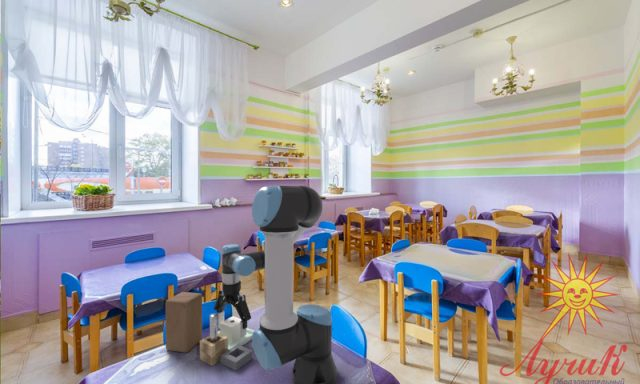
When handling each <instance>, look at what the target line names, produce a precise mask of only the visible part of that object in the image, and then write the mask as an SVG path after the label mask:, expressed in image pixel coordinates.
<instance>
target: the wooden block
mask: <svg viewBox="0 0 640 384" xmlns="http://www.w3.org/2000/svg"><path fill="white" fill-rule="evenodd" d="M202 339H203V294H202V293H199V292H198V293H197V292H188V291H181V292H179V293H178V294H175V295H174V296H171V297H170V298H169V299H167V300H166V301H165V349H166V350H167V351H172V352H180V353H188V352H190V351H191V350H192V349H193V348H194V347H195V346H196V345H198V344H200V340H202Z"/></svg>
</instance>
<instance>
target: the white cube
mask: <svg viewBox="0 0 640 384" xmlns="http://www.w3.org/2000/svg"><path fill="white" fill-rule="evenodd" d="M240 321H242V320H241V318H240V317H237V316H234V315H233V316H231V317H228V318H226V319H224V321H223V322H221V323H220V328H219V331H220V334H221V335H224V336H226V337H228V343H230V344H233V343H235V342H236V341H238V340H239V339H241V337H240ZM243 337H244V336H243ZM243 337H242V338H243Z"/></svg>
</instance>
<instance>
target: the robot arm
mask: <svg viewBox="0 0 640 384" xmlns="http://www.w3.org/2000/svg"><path fill="white" fill-rule="evenodd" d="M323 205H324V204H323V201H322V198H321V196H320V194H319V193H318V192H317V191H316V190H315V189H314V188H312V187H309V186H306V185H268V186H263V187H261V188H260V189H259V190H258V191H257V192H256V194H255V196H254V198H253V201H252V205H251V206H252V207H251V215H252V220H253V223H254V225H256V226H257V227H259V232H260V233H261V234H262V235H263V236H264V250H258V251H253V252H252V251H251V252H246V253H242V249H241V248H242V247H241V245H240V244H234V243H231V244H226V245H223V247H222V250H221V262H222V263H221V272H222V273H221V281H222V284H221V285H222V287H221V288H222V289H220V290H218V296H217V298H216V301H215V303H214V306H213V310H214V311H216V314H218V329H220V323H221V322H223V321H225V308H226V306H227V304H228V305H232V306H233V308H235V310H236V312H237V314H238V316H239V318H240V319H241V320H242V321H240V337H241V338H242V337H243V336H245V335H246V328H248V321H250V320H251V319H252V315H251V313H250V309H249V307H248V303H247V299H246V294H243V295H241V294H240V291H241V289H242V282H241V279H242V277H248V276H250V275H252V274H253V273H254V272H257V271H261V270H264V314H262V316H260V317H259V328H256V329H255V330H254V332H253V334H252V340H251V342H252V348H253V352H254V354H255V356H256V359H257V361H258V363H259V364H260V366H261V367H262V368H263V369H264V370H265V371H273V370H275V369H277V368H282V366H284V365H286V364H288V363H290V362H292V361H294V363H293V365H292V370H291V372H292V373H291V377H292V382H293V384H335V383H336V381H337V377H338V374H337V373H338V371H337V366H336V362H335V359H334V357H333V353H332V348H333V347H332V346H333V345H332V343H333V342H332V341H333V340H332V331H333V328H332V327H333V326H332V325H333V322H332V313H331V311H330V310H329V309H328V308H326V306H325V307H324V306H321V305H319V304H309V303H308V304H303V305H300V306H298V307H297V311H296V312H295V311H294V244H295V243H296V242H297V241H298V240H299V238H300V237H301V236H302V235H303V234H304V233H305V231H306V230H307V229H311V228H312V227H314V226H315V225H316V224H317V222H318V221H319V219H320V218H321V215H322V213H323Z"/></svg>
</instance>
